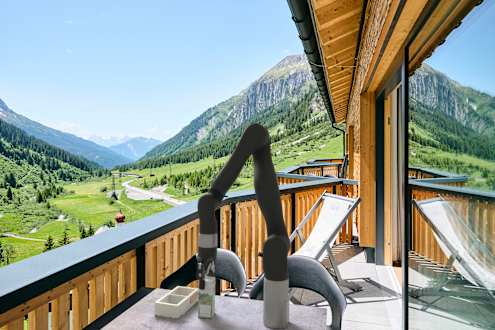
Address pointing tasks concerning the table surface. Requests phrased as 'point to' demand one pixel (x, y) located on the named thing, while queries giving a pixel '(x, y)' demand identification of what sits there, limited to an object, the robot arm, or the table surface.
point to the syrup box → (207, 299)
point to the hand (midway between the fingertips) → (206, 285)
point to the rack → (176, 302)
